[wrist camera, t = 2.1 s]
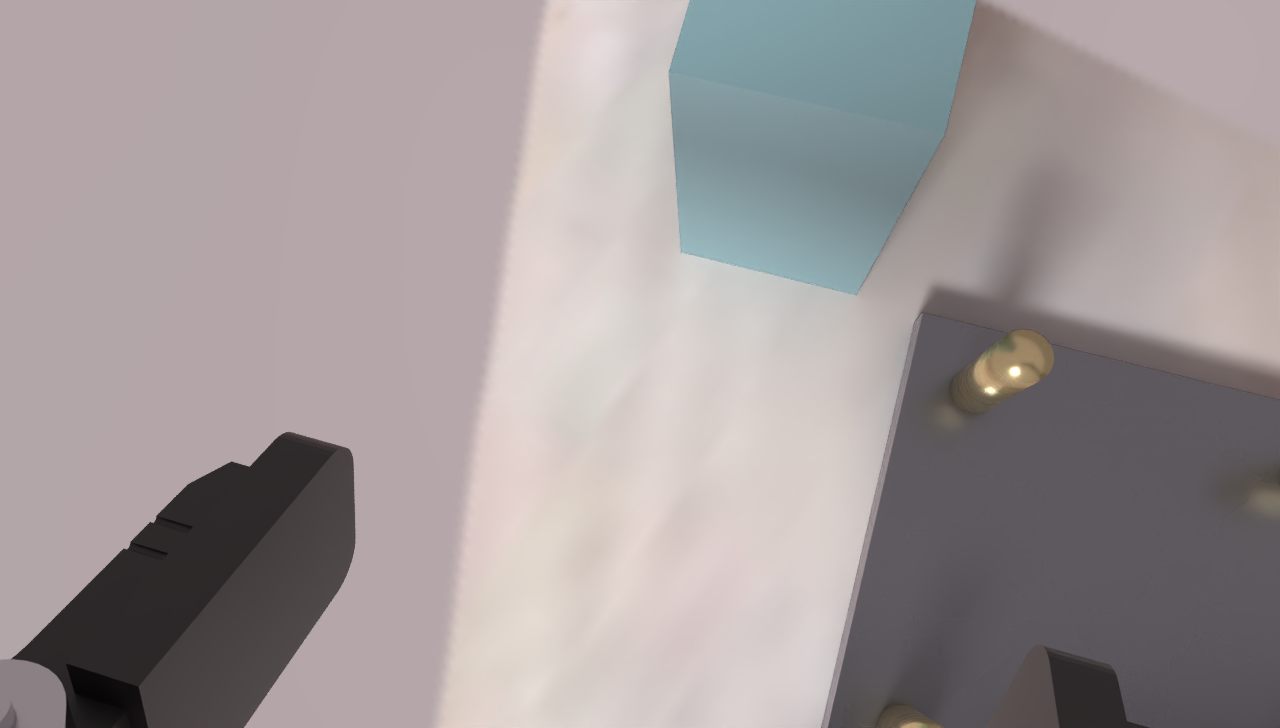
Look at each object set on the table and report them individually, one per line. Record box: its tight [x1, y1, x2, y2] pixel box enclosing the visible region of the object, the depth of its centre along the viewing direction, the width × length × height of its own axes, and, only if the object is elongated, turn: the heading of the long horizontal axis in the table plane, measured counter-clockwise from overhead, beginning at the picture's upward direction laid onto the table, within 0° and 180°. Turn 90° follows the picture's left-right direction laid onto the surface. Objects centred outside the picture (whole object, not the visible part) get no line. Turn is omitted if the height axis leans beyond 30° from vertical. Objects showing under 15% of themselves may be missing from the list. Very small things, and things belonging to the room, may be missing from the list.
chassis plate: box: [821, 313, 1280, 728], centre depth 22 cm, size 12×12×5 cm
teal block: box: [669, 0, 976, 295], centre depth 22 cm, size 5×5×10 cm
